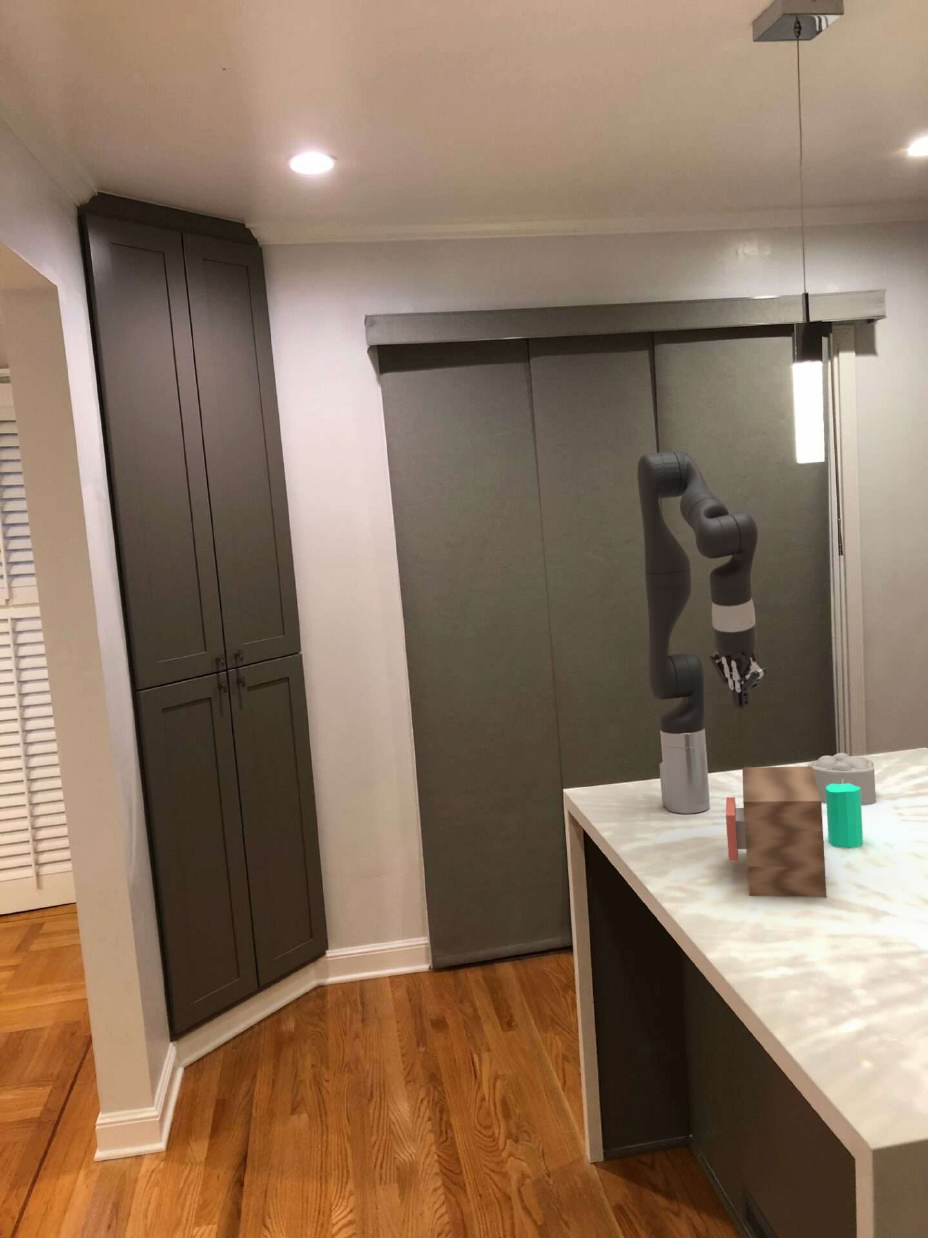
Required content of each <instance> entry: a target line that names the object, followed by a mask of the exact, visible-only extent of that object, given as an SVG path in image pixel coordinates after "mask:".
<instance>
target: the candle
mask: <svg viewBox="0 0 928 1238" xmlns="http://www.w3.org/2000/svg"><path fill="white" fill-rule="evenodd" d="M826 802H827V804H826V817H827V836H828V837H827V839H828V844H830V845H831V846H833V847H837V848H840V849H852V848H853V849H855V848H859V847H861V846H863V844H864V837H863V835H864V834H863V833H864V831H863V816H862V815H863V814H862V812H863V811H862V805H861V791H860V787H856V786H854V785H852V784H849V783H847V784H843V779H842V784H830V785H828V786H827V787H826Z"/></svg>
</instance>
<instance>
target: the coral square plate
mask: <svg viewBox="0 0 928 1238" xmlns="http://www.w3.org/2000/svg"><path fill="white" fill-rule="evenodd" d="M725 799H726V800H725V801H726V802H725V824H726V835H727V836H726V837H727V838H726V839H727V849H728V850H727V854H728V861H729V862H738V861H739V850H746V836H745V821H744V807H737V804H736V797H735V796H734V797H731V796H729V797H727V796H726V798H725Z"/></svg>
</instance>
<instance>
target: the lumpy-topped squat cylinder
mask: <svg viewBox="0 0 928 1238" xmlns="http://www.w3.org/2000/svg"><path fill="white" fill-rule="evenodd" d="M807 766H812V768H813V772H814V776H815V780H816V783H817V787H818V791H819V794H820V798H821V804H825V803H826V805H827V802H826V787H827V786H828V785H830V784H842V779H843V784H847V783H849V784H852V785H854V786H856V787H860V791H861V806H868V805H874V804H876V801H877V797H876V796H877V795H876V780H875V778H876V777H875V776H876V775H875V767H874V762H873V761H872V760H870V759H867V758H866V757H865V756H861V755H854V756H850V755H848V754H847V753H845V752H838V753H836V754H834V755H822V756H820V757H819V758H818V759H817V760H812V761H811V762H809V763H808V764H807Z"/></svg>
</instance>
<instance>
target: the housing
mask: <svg viewBox="0 0 928 1238" xmlns="http://www.w3.org/2000/svg"><path fill="white" fill-rule="evenodd" d="M742 798H743V799H742V800H743V801H742V803H743V808H744V821H745V836H746V849H745V850H746V864H747V865H746V867H747V882H748V896H754V897H755V896H756V897H757V896H758V897H760V896H761V897H763V896H764V897H800V898H801V897H805V898H806V897H809V898H815V897H816V898H827V881H826V880H827V879H826V864H825V863H826V862H825V860H826V859H825V845H824V844H825V843H824V827H823V826H824V825H823V823H824V822H823V806H822V804H823V803H821V798H820V794H819V791H818V787H817V783H816V780H815V776H814V772H813V768H812V766H808V765H807V766H767V767H765V766H762V767H761V766H759V767H757V766H756V767H753V766H752V767H742Z"/></svg>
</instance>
